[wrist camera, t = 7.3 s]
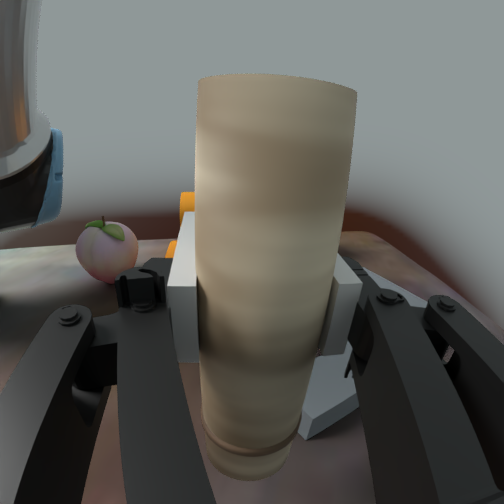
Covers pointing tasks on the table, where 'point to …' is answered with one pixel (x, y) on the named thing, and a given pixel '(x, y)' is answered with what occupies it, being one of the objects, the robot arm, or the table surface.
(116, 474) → the table surface
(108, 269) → the decorative fruit
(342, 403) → the stool seat
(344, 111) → the maple leg
